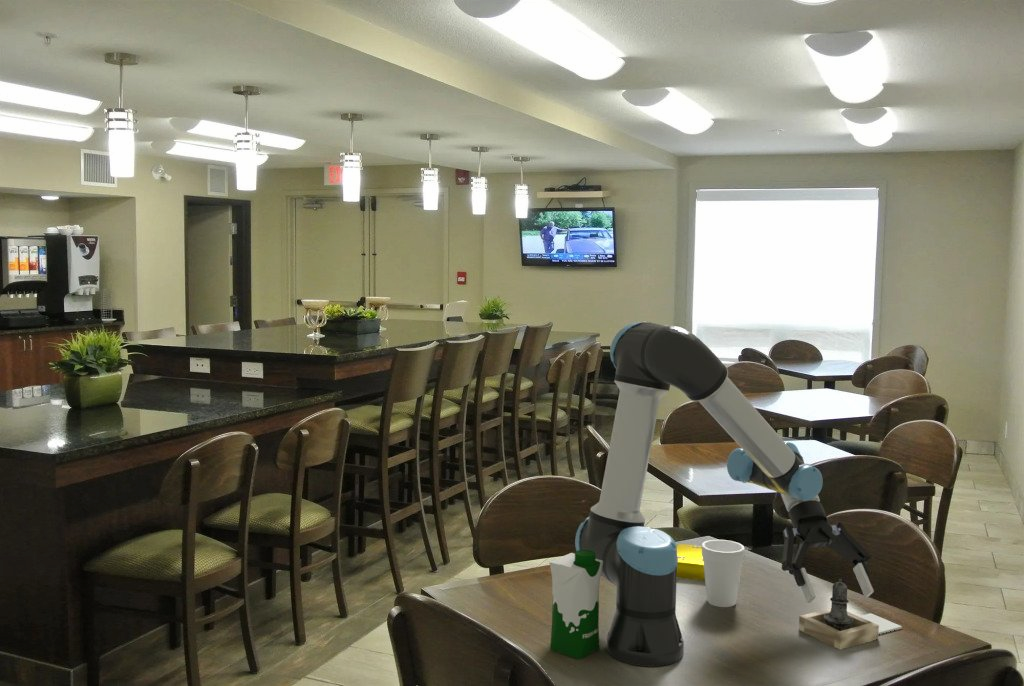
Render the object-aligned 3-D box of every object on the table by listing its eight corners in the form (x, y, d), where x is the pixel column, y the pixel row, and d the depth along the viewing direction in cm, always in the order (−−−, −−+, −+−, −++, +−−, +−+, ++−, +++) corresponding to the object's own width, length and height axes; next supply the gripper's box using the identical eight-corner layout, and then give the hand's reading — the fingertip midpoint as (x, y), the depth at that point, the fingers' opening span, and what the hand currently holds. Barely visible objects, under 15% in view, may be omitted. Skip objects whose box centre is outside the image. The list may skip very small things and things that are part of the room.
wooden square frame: (840, 649, 180) (840, 635, 180) (798, 629, 190) (799, 615, 190) (878, 639, 186) (878, 625, 185) (836, 620, 195) (836, 606, 195)
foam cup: (732, 613, 199) (733, 555, 198) (693, 603, 204) (694, 547, 203) (749, 600, 206) (750, 544, 205) (711, 591, 212) (713, 537, 211)
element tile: (735, 565, 232) (735, 547, 231) (732, 585, 217) (732, 565, 217) (676, 559, 236) (676, 541, 235) (669, 578, 221) (669, 559, 221)
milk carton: (580, 662, 174) (582, 561, 172) (543, 649, 179) (544, 551, 177) (605, 647, 180) (607, 550, 179) (569, 635, 186) (570, 540, 184)
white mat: (875, 635, 187) (875, 633, 187) (844, 621, 194) (844, 619, 194) (901, 628, 191) (901, 626, 191) (870, 615, 198) (870, 613, 198)
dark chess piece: (855, 641, 184) (857, 584, 183) (825, 639, 186) (827, 582, 184) (850, 630, 190) (853, 574, 189) (821, 627, 191) (823, 572, 190)
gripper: (846, 512, 207) (884, 599, 194) (746, 518, 201) (779, 609, 188) (861, 495, 202) (901, 584, 189) (759, 501, 196) (794, 594, 183)
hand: (840, 597), depth 188 cm, fingers open, 13 cm apart
